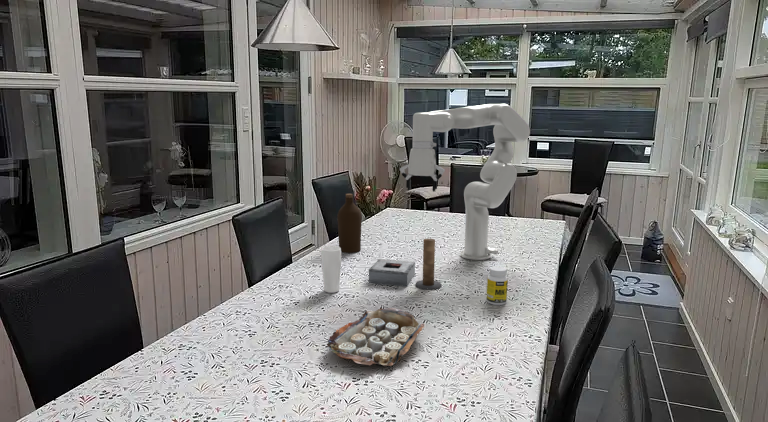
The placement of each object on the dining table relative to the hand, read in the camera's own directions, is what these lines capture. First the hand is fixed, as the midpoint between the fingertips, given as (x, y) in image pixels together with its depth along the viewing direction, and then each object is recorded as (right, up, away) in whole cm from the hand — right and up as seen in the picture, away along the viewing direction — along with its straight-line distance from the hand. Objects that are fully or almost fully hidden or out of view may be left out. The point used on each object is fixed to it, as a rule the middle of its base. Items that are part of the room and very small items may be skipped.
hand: (421, 190), depth 203 cm
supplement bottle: (+22, -38, -32) cm, 54 cm away
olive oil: (-29, -25, +28) cm, 48 cm away
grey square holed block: (-11, -33, -10) cm, 36 cm away
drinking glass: (-32, -35, -22) cm, 53 cm away
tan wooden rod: (+1, -34, -17) cm, 38 cm away
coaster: (+1, -34, -17) cm, 38 cm away
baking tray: (-16, -44, -64) cm, 79 cm away
